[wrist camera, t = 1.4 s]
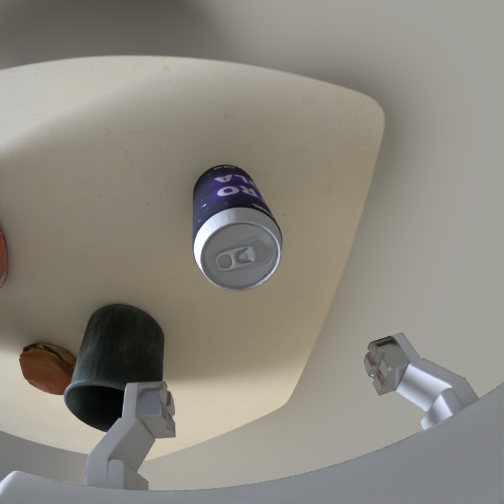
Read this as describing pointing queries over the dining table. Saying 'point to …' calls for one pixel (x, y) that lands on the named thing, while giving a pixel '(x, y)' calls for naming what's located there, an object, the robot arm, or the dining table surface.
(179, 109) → the dining table surface
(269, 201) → the dining table surface
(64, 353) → the burger
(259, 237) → the beverage can
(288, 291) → the dining table surface
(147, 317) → the mug
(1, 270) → the terracotta bowl
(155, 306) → the dining table surface
